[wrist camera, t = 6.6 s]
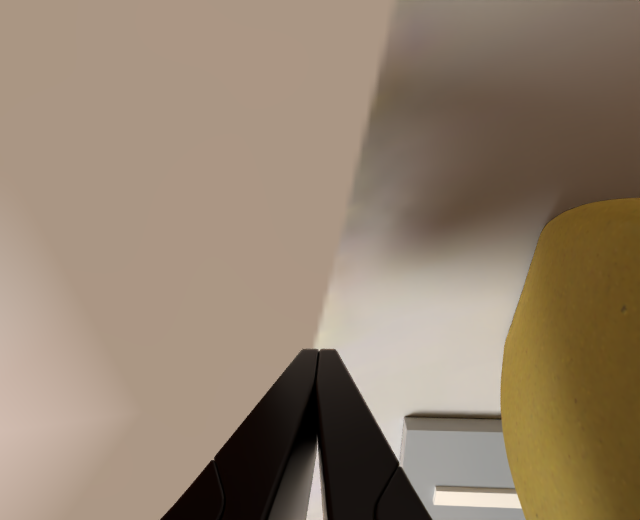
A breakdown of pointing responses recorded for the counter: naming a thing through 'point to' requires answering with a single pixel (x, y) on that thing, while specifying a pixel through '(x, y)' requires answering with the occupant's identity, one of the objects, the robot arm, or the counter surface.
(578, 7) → the counter surface
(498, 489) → the tile
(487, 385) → the counter surface
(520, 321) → the flower pot
